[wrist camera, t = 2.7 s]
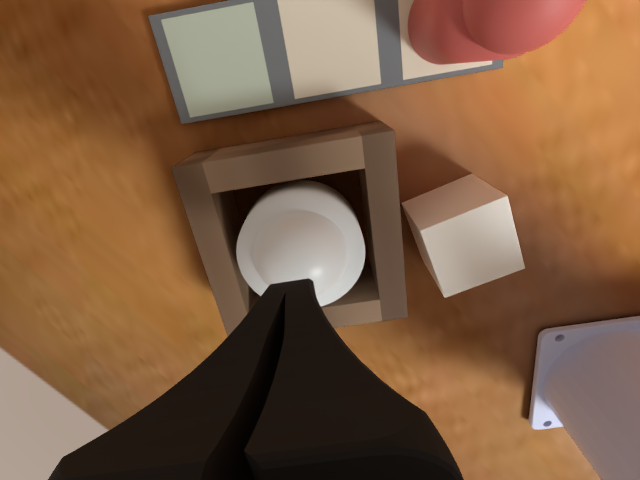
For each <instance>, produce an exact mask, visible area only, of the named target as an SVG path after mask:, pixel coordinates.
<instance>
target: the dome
mask: <svg viewBox="0 0 640 480" xmlns="http://www.w3.org/2000/svg"><path fill="white" fill-rule="evenodd" d="M236 254H237V261H238V266H239V269H240V271H241V273H242V275H243V277H244V279H245V280H246V282H247V283H248V285H249V286H250V287H251V288H252V289H253V290H254V291H255V292H256V293H257V294H259V295H260V296H261V295H262V294H263V293H264V292H265V290H266V289H267V288H268V286H269V285H270V284H275V283H281V282H288V281H295V280H301V279H308V278H309V279H311V280H312V281H313V283H314V288H315V293H316V298H317V300H318V302H319V304H320V306H324V305H327V304H329V303H332V302H334V301H336V300H337V299H339V298H341V297H342V296H343V295H344V294H346V293H347V292H348V291H349V290H350V289H351V288H352V287H353V285H354V284H355V283H356V281H357V280H358V278H359V276H360V274H361V272H362V269H363V266H364V262H365V244H364V239H363V235H362V232H361V229H360V226H359V222H358V219H357V216H356V214H355V212H354V210H353V208H352V206H351V205H350V203H349V202H348V201H347V200H346V199H345V198H344V196H343V195H341V194H340V193H339V192H338V191H336V190H335V189H333V188H331V187H329V186H327V185H325V184H322V183H319V182H316V181H310V180H293V181H288V182H284V183H281V184H278V185H276V186H274V187H272V188H270V189H269V190H267V191H266V192H264V193H263V194H262V195H261V196H260V197H259V198H258V199H257V200H256V202H255V203H254V204H253V206H252V208H251V209H250V211H249V213H248V215H247V217H246V220H245V222H244V224H243V226H242V228H241V231H240V233H239V236H238V240H237V248H236Z"/></svg>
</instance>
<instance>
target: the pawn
mask: <svg viewBox="0 0 640 480" xmlns="http://www.w3.org/2000/svg"><path fill="white" fill-rule="evenodd" d="M585 2H586V0H414V2H413V4H412V6H411V9H410V12H409V17H408V35H409V39H410V42H411V45H412V47H413V48H414V50H415V51H416V53H417V54H418V55H419V56H420V57H421V58H423V59H424V60H426V61H427V62H430V63H433V64H438V65H444V64H457V63H469V62H481V61H494V60H505V59H511V58H515V57H517V56H520V55H522V54H524V53H526V52H530V51H532V50H535V49H538V48H540V47H542V46H543V45H545V44H547V43H549V42H550V41H552V40H553V39H555V38H556V37H557V36H558V35H560V34H561V33H562V32H563V31H564V30H565V29H566V28H567V27H568V26H569V25H570V24H571V23H572V22H573V20H574V19H575V18H576V16H577V15H578V14H579V12H580V11H581V9H582V7H583V6H584V4H585Z"/></svg>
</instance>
